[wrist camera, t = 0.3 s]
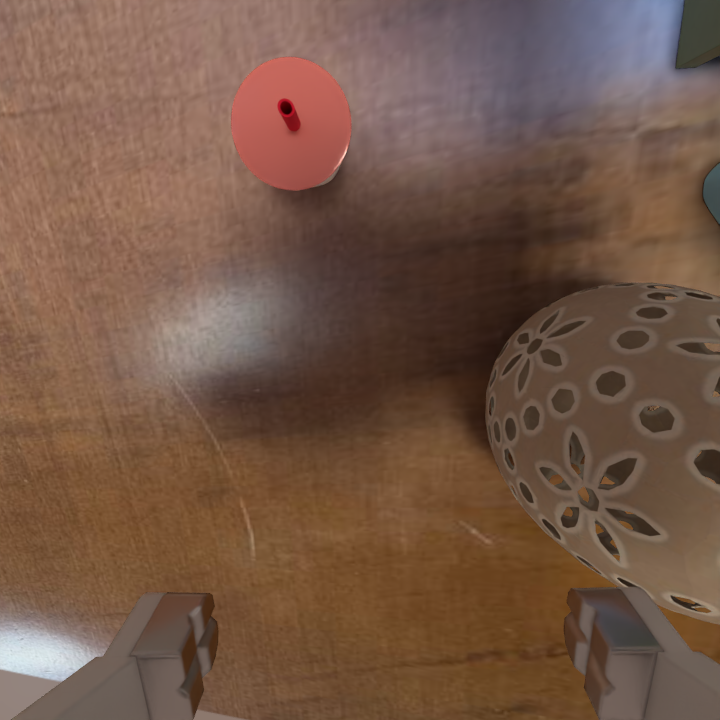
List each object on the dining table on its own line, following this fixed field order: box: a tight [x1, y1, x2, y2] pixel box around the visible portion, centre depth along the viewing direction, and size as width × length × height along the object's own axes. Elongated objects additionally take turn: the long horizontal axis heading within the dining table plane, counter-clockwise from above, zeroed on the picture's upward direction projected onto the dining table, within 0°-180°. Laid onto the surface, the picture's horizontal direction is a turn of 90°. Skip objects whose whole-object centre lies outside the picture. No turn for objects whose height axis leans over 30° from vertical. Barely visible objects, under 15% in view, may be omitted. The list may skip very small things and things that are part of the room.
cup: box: [231, 57, 351, 190], centre depth 23 cm, size 5×5×12 cm
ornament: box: [485, 283, 720, 624], centre depth 22 cm, size 15×15×20 cm
